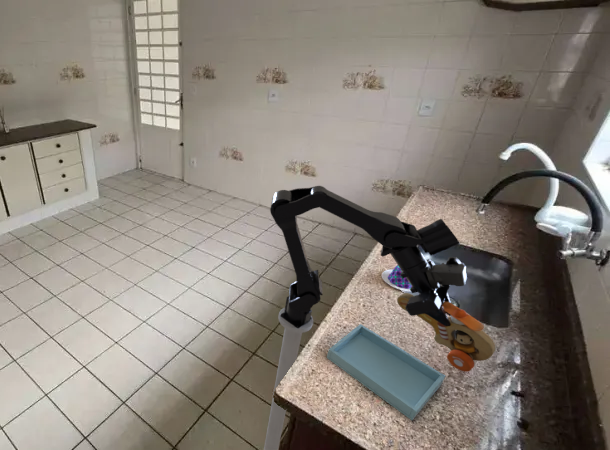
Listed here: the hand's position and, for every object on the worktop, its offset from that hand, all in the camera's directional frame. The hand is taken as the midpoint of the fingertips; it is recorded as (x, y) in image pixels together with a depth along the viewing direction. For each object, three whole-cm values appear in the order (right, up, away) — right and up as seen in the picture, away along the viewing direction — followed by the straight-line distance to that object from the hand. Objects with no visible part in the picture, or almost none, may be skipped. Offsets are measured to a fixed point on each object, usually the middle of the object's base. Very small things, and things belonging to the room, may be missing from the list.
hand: (450, 320), depth 82 cm
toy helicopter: (+1, -6, +5) cm, 8 cm away
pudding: (+10, +3, +34) cm, 36 cm away
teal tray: (-14, -13, +3) cm, 20 cm away
